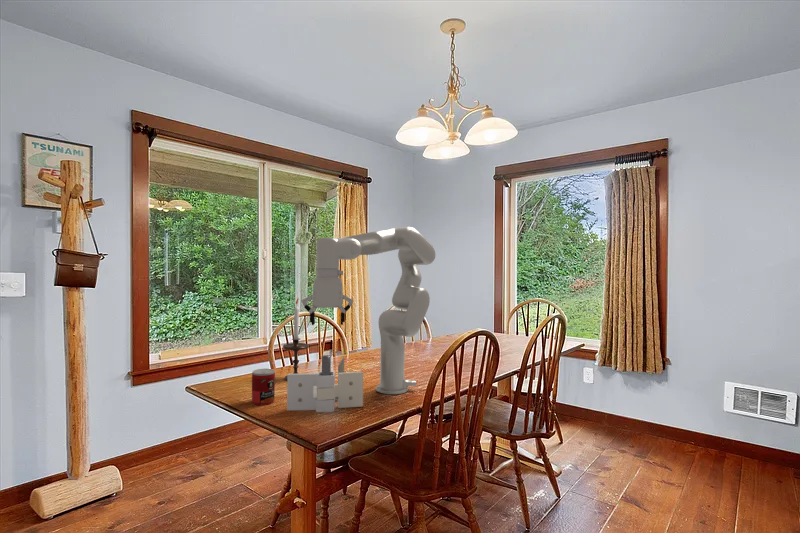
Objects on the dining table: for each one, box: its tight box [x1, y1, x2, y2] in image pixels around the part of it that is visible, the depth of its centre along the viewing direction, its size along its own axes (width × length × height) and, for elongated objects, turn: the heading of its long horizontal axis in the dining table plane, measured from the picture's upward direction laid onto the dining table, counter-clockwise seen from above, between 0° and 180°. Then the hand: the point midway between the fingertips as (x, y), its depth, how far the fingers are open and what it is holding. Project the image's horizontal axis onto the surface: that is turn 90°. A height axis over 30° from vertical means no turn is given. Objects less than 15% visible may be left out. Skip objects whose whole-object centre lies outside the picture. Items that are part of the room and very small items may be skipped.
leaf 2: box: [317, 371, 364, 409], centre depth 145 cm, size 16×6×12 cm, turn 104°
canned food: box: [251, 368, 276, 406], centre depth 151 cm, size 8×8×11 cm
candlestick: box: [282, 298, 310, 382], centre depth 182 cm, size 11×11×35 cm
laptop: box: [313, 355, 345, 402], centre depth 162 cm, size 18×12×13 cm
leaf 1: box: [286, 371, 336, 413], centre depth 143 cm, size 16×6×12 cm, turn 96°
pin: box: [321, 354, 332, 400], centre depth 144 cm, size 3×3×18 cm
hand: (327, 324), depth 144 cm, fingers open, 9 cm apart
